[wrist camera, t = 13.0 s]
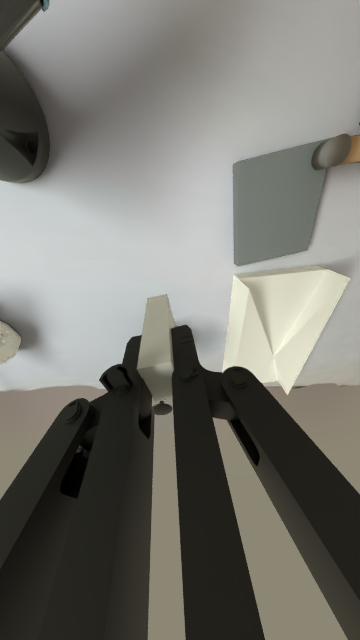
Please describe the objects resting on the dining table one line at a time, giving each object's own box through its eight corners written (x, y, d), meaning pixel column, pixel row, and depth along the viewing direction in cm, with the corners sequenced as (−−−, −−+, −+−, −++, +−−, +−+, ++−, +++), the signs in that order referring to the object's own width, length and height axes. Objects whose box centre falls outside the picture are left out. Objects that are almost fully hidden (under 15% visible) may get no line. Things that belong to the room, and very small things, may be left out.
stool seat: (233, 164, 30) (238, 161, 28) (322, 142, 29) (334, 137, 27) (233, 263, 40) (237, 266, 38) (299, 248, 40) (307, 250, 38)
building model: (273, 373, 69) (287, 395, 61) (221, 380, 68) (228, 402, 60) (316, 265, 43) (350, 278, 35) (233, 273, 42) (249, 289, 35)
